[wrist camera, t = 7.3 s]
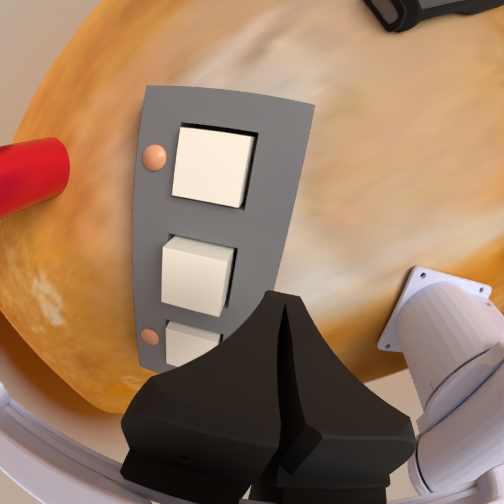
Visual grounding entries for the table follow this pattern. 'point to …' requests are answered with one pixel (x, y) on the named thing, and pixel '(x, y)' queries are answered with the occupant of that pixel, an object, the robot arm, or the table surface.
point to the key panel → (212, 205)
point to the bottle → (31, 173)
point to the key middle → (196, 274)
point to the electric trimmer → (423, 10)
